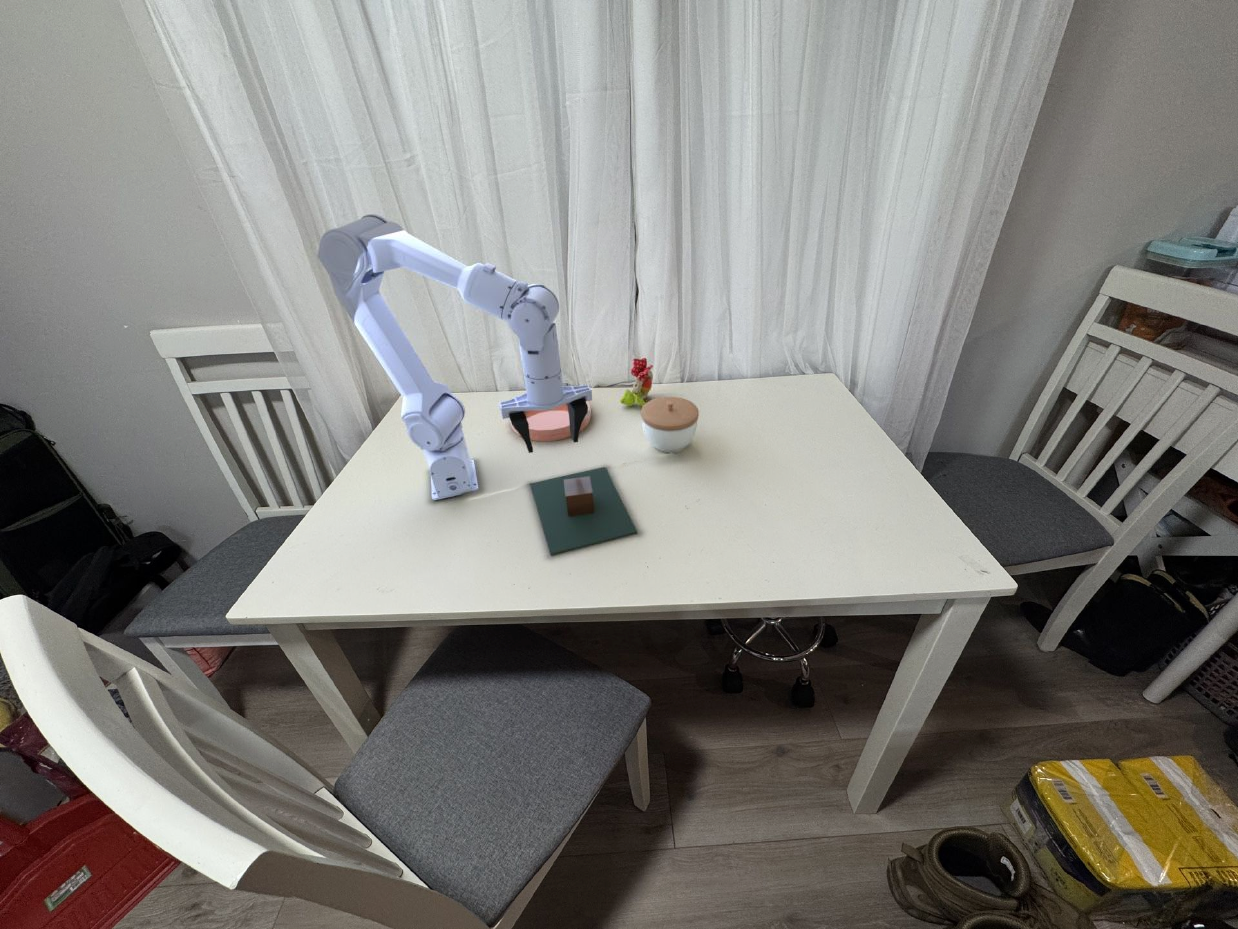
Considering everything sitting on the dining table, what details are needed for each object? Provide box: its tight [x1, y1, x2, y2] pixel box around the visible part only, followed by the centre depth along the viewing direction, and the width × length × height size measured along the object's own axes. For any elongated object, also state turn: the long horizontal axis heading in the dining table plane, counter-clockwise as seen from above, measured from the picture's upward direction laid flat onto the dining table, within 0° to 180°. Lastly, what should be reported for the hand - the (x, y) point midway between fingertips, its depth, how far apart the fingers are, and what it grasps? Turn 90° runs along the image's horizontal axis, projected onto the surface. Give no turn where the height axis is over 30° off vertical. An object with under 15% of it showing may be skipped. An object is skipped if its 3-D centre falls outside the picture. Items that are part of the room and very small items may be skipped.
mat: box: [530, 466, 638, 556], centre depth 87 cm, size 18×14×1 cm
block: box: [564, 476, 595, 516], centre depth 86 cm, size 4×4×4 cm
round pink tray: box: [509, 401, 592, 443], centre depth 109 cm, size 17×17×3 cm
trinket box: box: [640, 396, 699, 454], centre depth 98 cm, size 11×11×9 cm
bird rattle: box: [619, 357, 654, 408], centre depth 112 cm, size 6×11×9 cm
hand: (552, 444), depth 86 cm, fingers open, 7 cm apart
